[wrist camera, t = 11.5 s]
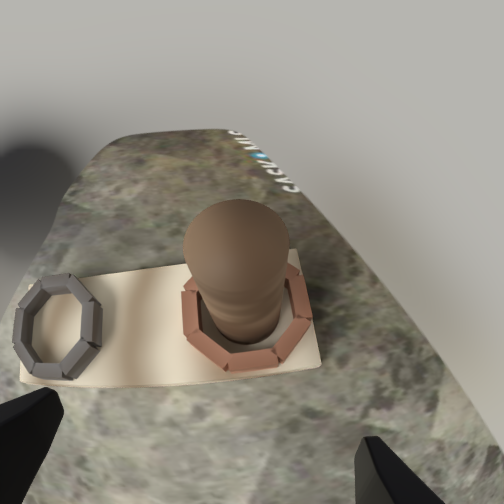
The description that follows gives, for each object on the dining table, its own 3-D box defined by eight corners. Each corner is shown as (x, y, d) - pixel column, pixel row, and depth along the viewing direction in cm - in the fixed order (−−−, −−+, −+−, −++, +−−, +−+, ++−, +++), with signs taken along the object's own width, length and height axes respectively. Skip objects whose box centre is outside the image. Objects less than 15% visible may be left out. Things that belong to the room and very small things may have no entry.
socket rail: (295, 256, 24) (298, 237, 22) (318, 367, 20) (325, 360, 17) (36, 290, 23) (19, 277, 21) (28, 384, 19) (8, 377, 17)
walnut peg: (220, 351, 19) (190, 301, 12) (208, 290, 22) (178, 211, 14) (287, 336, 20) (303, 276, 12) (270, 276, 22) (273, 191, 14)
